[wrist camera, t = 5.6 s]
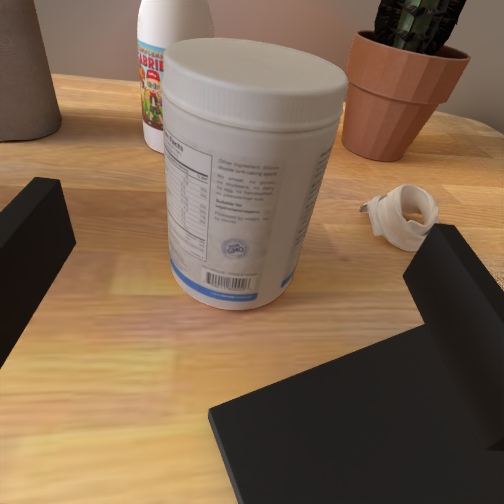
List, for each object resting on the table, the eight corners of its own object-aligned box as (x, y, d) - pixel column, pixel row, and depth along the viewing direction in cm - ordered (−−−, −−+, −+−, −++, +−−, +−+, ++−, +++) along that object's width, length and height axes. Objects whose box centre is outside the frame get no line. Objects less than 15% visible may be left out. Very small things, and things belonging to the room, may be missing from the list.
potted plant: (438, 162, 48) (570, -81, 32) (374, 178, 42) (499, -117, 25) (368, 124, 56) (445, -86, 40) (305, 132, 50) (367, -115, 33)
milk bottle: (161, 125, 45) (154, -87, 32) (217, 138, 44) (233, -73, 31) (132, 148, 39) (107, -100, 26) (195, 164, 38) (203, -83, 25)
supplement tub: (243, 218, 32) (271, 36, 22) (316, 283, 27) (393, 82, 17) (145, 253, 27) (125, 33, 17) (212, 341, 21) (239, 100, 12)
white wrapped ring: (407, 217, 38) (428, 176, 35) (450, 253, 33) (478, 209, 30) (345, 215, 35) (363, 171, 32) (382, 254, 30) (406, 206, 27)
